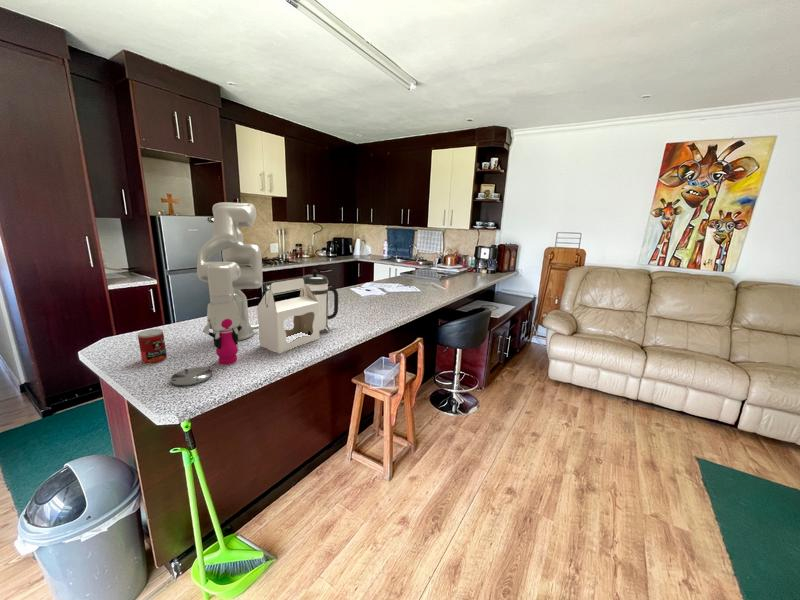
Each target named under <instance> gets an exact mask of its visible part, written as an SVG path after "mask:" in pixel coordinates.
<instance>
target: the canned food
mask: <svg viewBox="0 0 800 600" xmlns="http://www.w3.org/2000/svg"><path fill="white" fill-rule="evenodd" d="M137 339H138V345H139V351H140V357H141V361H142V362H144V364H146V363H147V365H148V363H152V364H156V363H157V362H158V363H161V362H163V361H165V360H166V359H167V357H168V355H167V350H166V342H165V336H164V331H163V329H160V328H151V329H146V330H143V331H139V332H138V333H137Z"/></svg>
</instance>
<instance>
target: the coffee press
mask: <svg viewBox="0 0 800 600" xmlns="http://www.w3.org/2000/svg"><path fill="white" fill-rule="evenodd" d="M311 273H312V274H305V275H304V276H302V278H303V280H304V284H308V287H309V289H310V290H311V292H312V293H313V295H314V296H315V298H316V300H317V301H318V305H319V332H322V331H325V332H326V331H329V332H331V328H329V326H328V322H329V320H331V319H334V318H335V317H336V316H337V314H338V311H339V292H338V291H337V289H336V288H334V287H333V286H332V287H331V286H330V287H329V286H328V285H329V283H330V282H329V280H328V277H326V276H325V275H322V274H318V271H317V270H316V269H313V270H312V271H311ZM329 292H332V293H333V295H334V297H333V298H334V301H333V303H334V304H333V313H332V314H331V315H329V313H328V310H329V309H328V308H329V307H328V306H329V305H328V304H329V294H328V293H329ZM307 297H308V296H307ZM304 328H305V329H306V326H305V324H304ZM308 335H311V332H310V331H308Z"/></svg>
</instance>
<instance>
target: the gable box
mask: <svg viewBox="0 0 800 600" xmlns="http://www.w3.org/2000/svg"><path fill="white" fill-rule="evenodd" d="M268 288H269V289H268V290H266V291H265V293H264V295H263V297H262V298H261V300H260V302H259V303H258V305H257V307H256V309H257V322H258V324H257V325H259V329H258V334H259V335H258V336H259V347H261V346H262V348H265V349H266V348H267V349H266V350H270V351H272V352H274V353H277V354H282V353H285V352H287V350H288V351H290V350H292V348H293V349H295V348H294V347H296V348H298V347H297V346H299V345H301V346H303V345H302V344H304V345H306V344H305V343H307V344H309V343H308V342H310V341H313V340H315V341H317V340H316V339H318V338H320V331H319V305H318V301H317V300H316V298H315V296H314V295H313V293H312V292H311V290H310V289H309V287H308V284H304V280H303V277H302V278H293V279H287V280H279V281H276V282H275V281H274V282H271V283H270V284H268ZM295 290H300V293H299V297H296V298H295V297H294V298H290V299H285V300H280V301H275V296H274V295H276V294H279V293H283V292H290V291H295ZM307 296H308V297H307ZM290 317H293V328H292V329H285V328H284V321H285V320H287V319H288V318H290ZM304 324H305V326H306V329H305V328H304ZM308 331H310V332H311V335H310V336H302V337H298V338H296V339H295V340H293V341H292V342H290V343H287V342H286V337H288V336H291V335H294V334H297V333H300V332H302V333H305V334H308ZM318 340H319V339H318ZM313 342H314V341H313ZM310 343H311V342H310ZM299 347H300V346H299ZM289 349H290V350H289ZM284 351H285V352H284Z"/></svg>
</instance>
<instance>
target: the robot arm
mask: <svg viewBox="0 0 800 600" xmlns="http://www.w3.org/2000/svg"><path fill="white" fill-rule="evenodd" d="M212 214H213V228H212V238H210V239H209V240H208V241H206V243H204V244H203V246H202V247H201V249H200V250H199V252H198V255H197V264H196V275H197V277H198V279H199V280H200V281H202V282H204V283H205V282H206V283H208V292H209V301H210V302H209V303H208V304H207V311H206V312H207V313H206V321H207V322H206V323H207V324H206V325H205V327H204V328H203V330H202V333H204V334H206V335H207V336H209V337H212V339H213V345H214V347H215V348H216V349H217V348H218V349H221V341H220V338H219V333H220V331H221V330H224V329H225V328H223V327H222V326H221V324H222V321H223V320H225V319H230V320H232V325H231V326H230V327H229V328H232V331H231V333H232V338H233V340H234V342H235V344H236V345H237V346H238V342H239V341H243V340H248V339H250V338H251V337H253V336H254V330H259V325H258V324H250V320H249V308H248V299H247V296H246V295H245V293H244V292H243V291H242V290H253V289H260V288H262V286H263V281H264V280H263V279H264V277H263V260H262V252H261V248H260V246H259V245H257V244H254V243H244V234H243V232H242V231H241V230H240V228H252V227H253V226H254V224H255V222H256V220H257V209H256V207H255V205H254V204H252V203H248V202H246V203H245V202H230V201H229V202H227V201H225V202H218V203H215V204H213V206H212ZM219 252H221V257H222V261H209V259H210V258H211V257H212V256H213V255H215V254H218V253H219ZM240 266H246V267H240ZM247 266H250V267H247ZM210 330H212V331H210Z"/></svg>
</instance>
